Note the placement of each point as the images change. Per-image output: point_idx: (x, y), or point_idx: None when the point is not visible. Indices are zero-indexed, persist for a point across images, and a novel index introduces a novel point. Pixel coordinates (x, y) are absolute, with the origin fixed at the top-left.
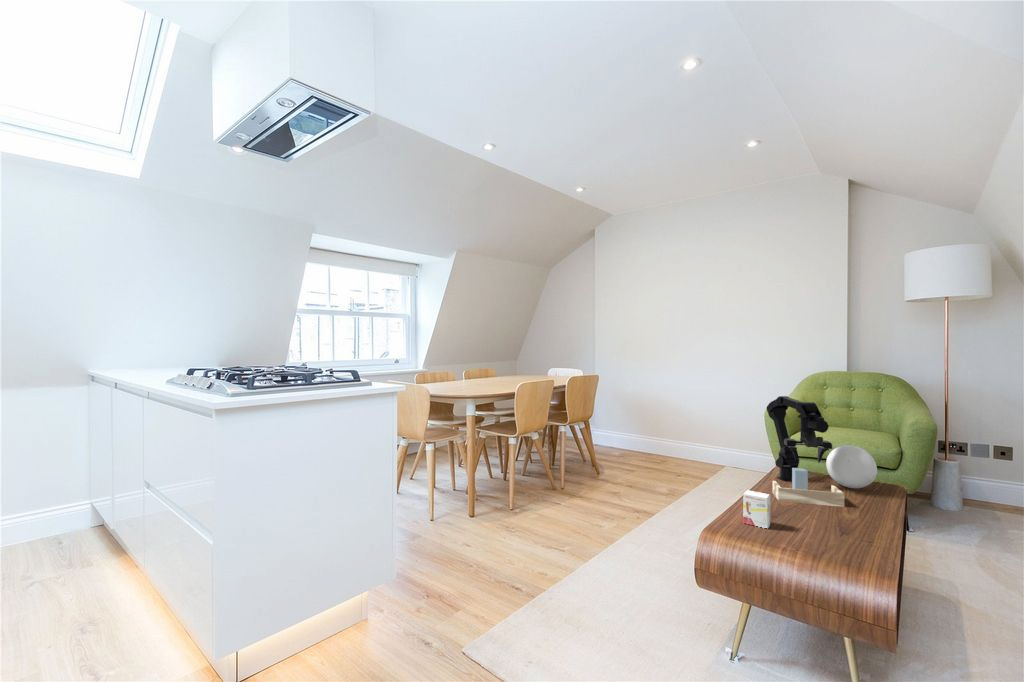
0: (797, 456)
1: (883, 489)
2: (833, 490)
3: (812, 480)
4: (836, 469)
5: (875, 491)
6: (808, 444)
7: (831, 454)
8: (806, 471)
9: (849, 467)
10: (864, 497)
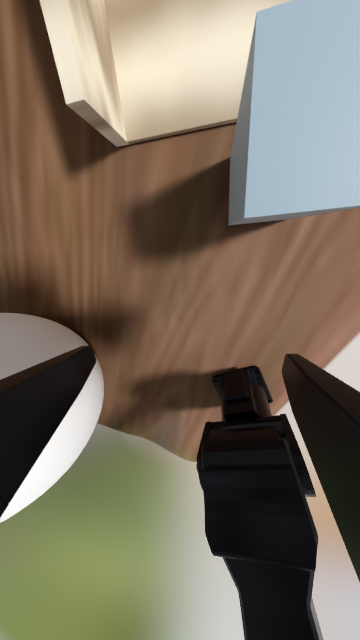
0: (210, 481)
1: None
2: (83, 40)
3: (162, 391)
4: (46, 360)
5: None
6: None
7: None
8: (275, 10)
9: None
10: (27, 246)
